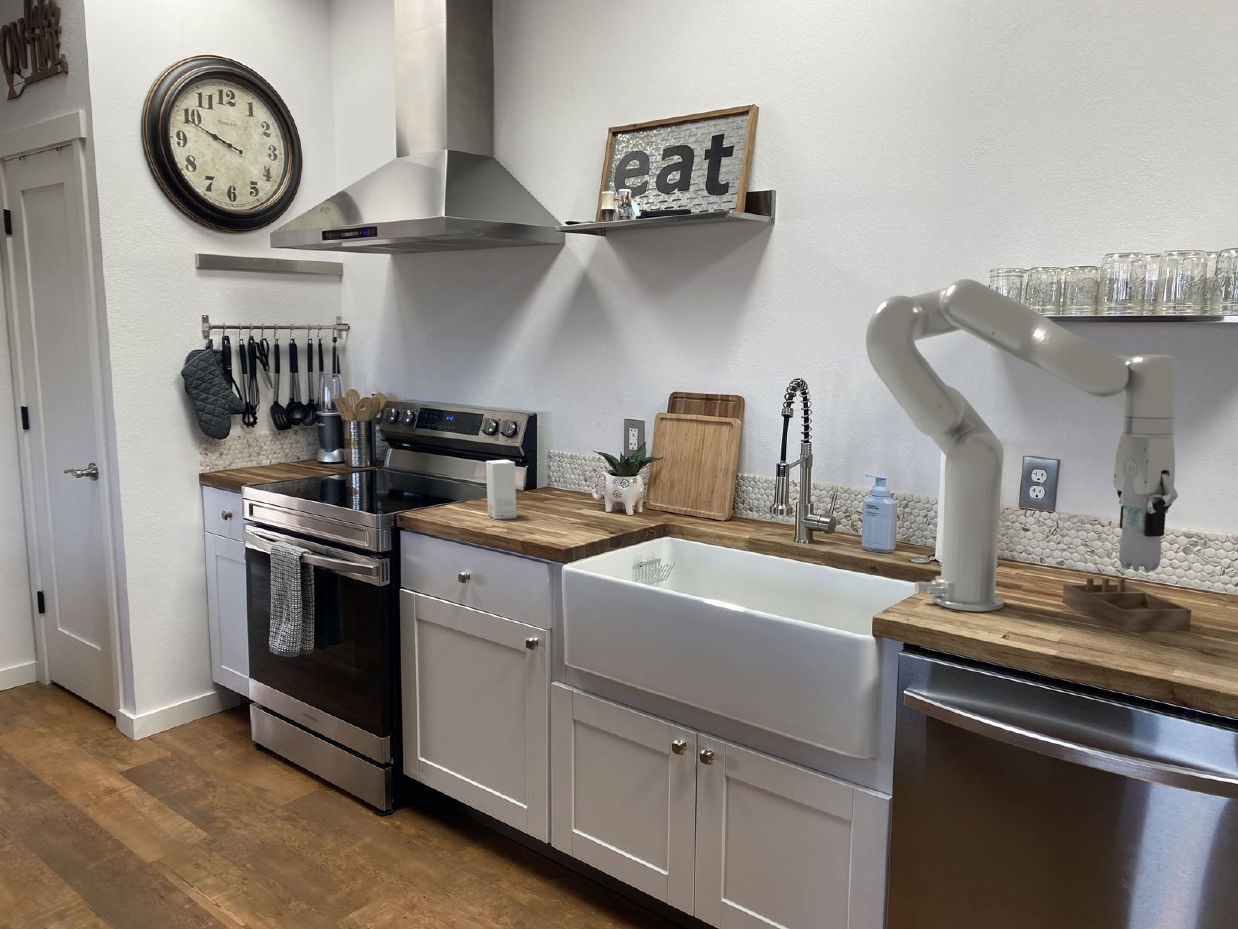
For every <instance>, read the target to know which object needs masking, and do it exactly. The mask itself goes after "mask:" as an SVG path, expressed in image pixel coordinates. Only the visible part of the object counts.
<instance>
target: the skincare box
mask: <svg viewBox="0 0 1238 929" xmlns="http://www.w3.org/2000/svg"><path fill="white" fill-rule="evenodd" d="M485 465H486V466H485V470H486V474H485V475H486V494H487V499H486V500H487V516H488V517H491V518H492V519H494V520H507V519H508V520H509V519H510V520H511V519H517V518H518V517H517V493H516V492H517V491H516V490H517V488H516V484H517V483H516V462H515V461H511V460H509V459H499V460H498V459H497V460H486V461H485Z"/></svg>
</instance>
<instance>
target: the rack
mask: <svg viewBox="0 0 1238 929" xmlns="http://www.w3.org/2000/svg"><path fill="white" fill-rule="evenodd" d="M1094 582H1095V579H1094V578H1093V577H1092V578H1091V577H1088V578H1086V583H1075V584H1074V583H1071V584H1064V583H1063V588H1062V591H1063V592H1062V604H1064V605H1066V606H1068V607H1070V608H1072V609H1075V610H1076V611H1078V612H1080V613H1082V614H1085V615H1087V616H1089V617H1091V618H1093V619H1094V620H1098V621H1099V622H1101V623H1103V624H1105V625H1108V626H1109V627H1112V628H1114V629H1116V630H1118V631H1120V632H1122V633H1128V632H1129V633H1131V632H1135V633H1136V632H1169V631H1170V632H1171V631H1173V632H1174V631H1176V632H1178V631H1180V632H1181V631H1190V630H1191V622H1192V620H1191V619H1192V609H1190V608H1187V607H1185V606H1182V605H1181V604H1178V603H1175V602H1172V601H1170V600H1168V599H1165V598H1163V597H1160V596H1157V595H1155V594H1152V593H1149V592H1147V591H1145V590H1142V589H1139V588H1137V587H1135V586H1132V585H1131V584H1127V583H1126V578H1124V577H1117V583H1110V578H1108V577H1102V583H1094Z"/></svg>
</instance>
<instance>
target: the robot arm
mask: <svg viewBox="0 0 1238 929" xmlns="http://www.w3.org/2000/svg"><path fill="white" fill-rule="evenodd" d="M956 331H964V332H966V333H968V334H970V335H972V336H974V337H976V338H977V339H980V340H981V341H983V342H984V343H986V344H988V345H991V346H993V347H994V348H996V349H998V350H1000V351H1001V352H1003V353H1004V354H1007V355H1009V356H1011V357H1013V358H1015V359H1016V360H1017V361H1020V362H1023V363H1026V364H1029V365H1031V366H1034V367H1036V368H1038V369H1040V370H1042V371H1044V372H1046V373H1047V374H1050V375H1051V376H1053V377H1056V378H1057V379H1059V380H1061V381H1063V382H1065V383H1066V384H1068V385H1070V386H1072V387H1074V388H1076V389H1077V390H1079V391H1081V392H1083V393H1084V394H1087V395H1088V396H1090V397H1092V398H1096V399H1110V398H1113V397H1115V396H1118V395H1124V398H1125V399H1124V409H1123V410H1124V412H1123V423H1122V424H1123V425H1122V426H1123V427H1122V433H1121V435H1120V437H1119V442H1118V444H1117V449H1116V450H1117V451H1116V456H1115V463H1114V472H1113V487H1114V489H1116V493H1117V496H1118V499H1119V500H1118V504H1119V506H1120V513H1119V514H1120V516H1119V528H1120V529H1121V530H1122V523H1123V508H1124V500H1123V498H1122V496H1123V492H1122V488H1123V485H1124V481H1125V478H1126V477H1125V476H1126V473H1132V474H1133V475H1134V476H1132V477H1133V478H1134V479H1133V483H1134V489H1135V493H1136V494H1137V495H1139V496H1147V505H1148V511H1149V513H1146V515H1145V528H1144V535H1145V536H1147V537H1157V536H1161V537H1163V536H1164V535H1165V528H1166V527H1165V526H1166V525H1165V524H1166V514H1168V512H1169V508H1170V507H1171V506H1172V504H1173V503H1174V502H1175V501H1176V499H1177V498H1178V497H1179V495H1178V494H1179V493H1178V492H1177V490H1176V488H1175V477H1176V476H1175V475H1176V455H1175V454H1176V453H1175V442H1174V434H1175V433H1174V431H1175V421H1176V420H1175V417H1176V405H1177V404H1176V403H1177V391H1178V390H1177V389H1178V377H1179V376H1178V375H1179V361H1178V359H1177V357H1175V356H1174V355H1170V354H1137V355H1133V356H1132V355H1131V356H1129V355H1117V354H1114V353H1112V352H1110V351H1108V350H1106V349H1104V348H1103V347H1100V346H1098V345H1096V344H1094V343H1093V342H1091V341H1088V340H1086V339H1085V338H1083V337H1080V336H1079V335H1077V334H1075V333H1073V332H1071V331H1069V330H1068V329H1065V328H1064V327H1062V326H1060V325H1058V324H1057V323H1055V322H1054V321H1053V320H1051V319H1050V318H1048V317H1047V316H1045V315H1043V314H1041V313H1039V312H1037V311H1035V310H1034V309H1032V308H1029V307H1027V306H1026V305H1023V304H1021V303H1019V302H1017V301H1016V300H1014V299H1011V297H1008V296H1006V295H1004V294H1002V293H1000V292H998V291H996V290H994V289H993V288H991V287H989V286H987V285H985V284H983V283H981V282H979V281H977V280H975V279H970V278H969V279H968V278H963V279H959V280H956V281H954V282H952V283H951V284H950V285H949V286H948V287H945V288H941V289H937V290H934V291H929V292H926V293H921V294H918V295H913V296H908V295H893V296H891V297H887V298H886V299H884V300H883V301H882V302H881V303H880V304H879V305H878V306H877V307H876V308H875V309H874V312H873V313H872V315H871V317H870V319H869V323H868V324H867V329H866V332H865V333H866V335H865V346H866V353H867V357H868V359H869V362H870V365H871V366H872V368H873V370H874V371H875V373H876V374H877V376H878V377H879V379H880V380H881V381H882V382H883V383H884V385H885V386H886V388H887V389H888V390H889V392H890V393H891V395H892V397H893V398H894V399H895V400H896V402H897V403H898V404H899V405H900V407H901V408H902V409H903V410H904V412H905V413H906V414H907V416H908V417H909V419H910V421H911V422H912V423H913V424H914V426H915V427H916V429H917V430H919V431H920V433H922V434H924V435H926V436H927V437H930V438H931V439H932V441H933V442H934V443H935V444H936V446H937V447H938V448H939V449H940V450H941V452H942V453H943V454H944V455H945V462H944V501H943V502H944V505H943V528H942V529H943V531H942V548H941V551H942V552H941V553H942V554H941V567H940V568H941V572H940V575H935V579H932V580H931V581H927V582H926V581H915V583H914V590H915V592H916V593H927V594H928V595H931V596H930V597H931V598H930V599H931V601H932V602H933V604H936V605H938V606H941V607H944V608H948V609H952V610H956V611H957V610H958V611H965V612H993V611H998V610H1000V609H1002V608H1004V604H1005V602H1004V599H1003V597H1001V596H999V595H997V594H996V585H997V584H996V583H997V570H998V569H997V567H998V566H997V563H998V550H999V548H998V546H999V530H1000V529H999V528H1000V511H1001V490H1002V479H1003V478H1002V477H1003V468H1004V467H1003V466H1004V457H1005V456H1004V449H1003V445H1002V443H1001V441H1000V440H999V438H998V437H997V436H996V434H995V433H994V432H993V431H992V429H991V428H990V427H989V426H988V425H987V423H986V422H985V421H984V419H983V418H982V417H981V416H980V415H979V413H978V412H977V410H975V408H973V406H972V405H971V403H970V402H969V401H968V400H967V399H966V398H965V396H964V395H963V394H962V393H961V392H960V391H959V390H957V389H956V388H954V387H953V386H949V385H947V384H946V383H945V382H944V381H943V379H942V378H941V377H940V376H939V375H938V373H937V372H936V371H935V370H934V369H933V367H932V366H931V365H930V363H929V362H928V360H926V358H925V357H924V356H923V355H922V353H921V352H920V351H919V349H918V348H917V346H916V343H915V341H919V340H923V339H927V338H931V337H936V336H941V335H946V334H950V333H954V332H956ZM1157 489H1159V490H1162V494H1152V493H1155V492H1156V490H1157ZM1154 498H1160V499H1159V500H1158V501H1157V502H1156V504H1155V502H1154Z"/></svg>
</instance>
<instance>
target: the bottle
mask: <svg viewBox="0 0 1238 929" xmlns="http://www.w3.org/2000/svg"><path fill="white" fill-rule="evenodd" d="M1132 476H1134V475H1133V474H1132V473H1126V476H1125V477H1126V478H1125V481H1124V485H1123V488H1122V492H1123V496H1122V498H1123V500H1124V508H1123V523H1122V529H1121V536H1120V544H1119V552H1118V553H1119V554H1118V560H1119V562H1120V565H1121V566H1122V567H1123V568H1124V569H1126V570H1130V569H1131V567H1132V570H1133V571H1135V572H1138V571H1140V567H1143V568H1144V572H1150V571H1152V572H1153V571H1155V570H1157V569H1158V568H1159V566H1160V564H1161V560H1162V557H1161V556H1162V536H1157V537H1147V536H1145V535H1144V528H1145V515H1146V513H1149V511H1148V505H1147V496H1139V495H1137V494H1136V493H1135V489H1134V483H1133V479H1134V478H1133V477H1132ZM1152 494H1162V490H1159V489H1157V490H1156V492H1155V493H1152ZM1159 499H1160V498H1154V502H1155V504H1156V502H1157V501H1158V500H1159Z"/></svg>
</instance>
